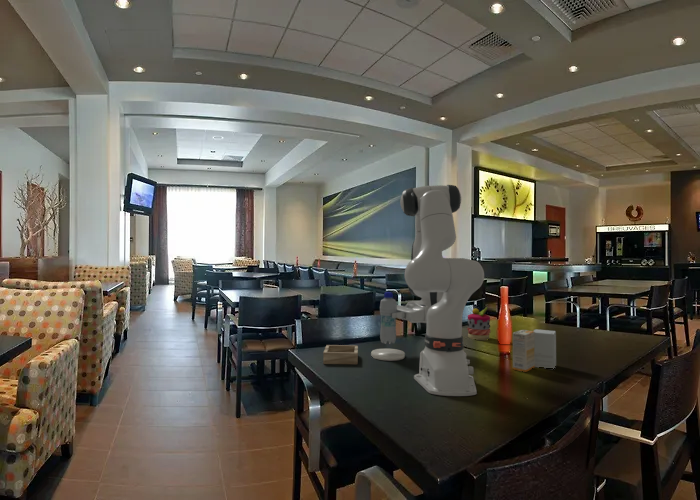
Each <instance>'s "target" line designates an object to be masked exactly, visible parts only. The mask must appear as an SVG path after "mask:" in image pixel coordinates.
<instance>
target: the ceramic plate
mask: <svg viewBox="0 0 700 500" xmlns="http://www.w3.org/2000/svg"><path fill="white" fill-rule="evenodd" d="M405 355H406V353H405V351H403V350H400V349H396V348H376V349H372V351H371V353H370V357H371V356H372V357H373V358H372V357H371V358H372V359H374V360H378V361H387V362H391V361H401V360H403V359H405V357H406V356H405Z"/></svg>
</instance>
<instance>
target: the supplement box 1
mask: <svg viewBox="0 0 700 500" xmlns="http://www.w3.org/2000/svg"><path fill="white" fill-rule="evenodd" d="M532 368H533V369H534V368H536V367H535V332H534V330H533V331H532V330H527V329H520V330H517V331H514V332H512V370H514V371H518V372H522V371H523V373H526V372H529V371H531V370H533V369H532Z"/></svg>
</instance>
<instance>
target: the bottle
mask: <svg viewBox="0 0 700 500" xmlns="http://www.w3.org/2000/svg"><path fill="white" fill-rule="evenodd" d="M383 294H384V295H383V296H384V297H383V298H382V299H381V300H380V304H379V314H380V313H381V314H380V332H379V333H380V334H379V335H380V336H379V338H380V343H382V344H385V345H387V343H388V344H389V345H391V344H395V342H396V340H397V328H396V326H397V324H396V323H397V318H392V317H391V313H396V312H397V311H396V310H397V306H396V305H397V300H396V299H394V297H393V296H394V295H393V292H392V291H385V292H384V293H383Z"/></svg>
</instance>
